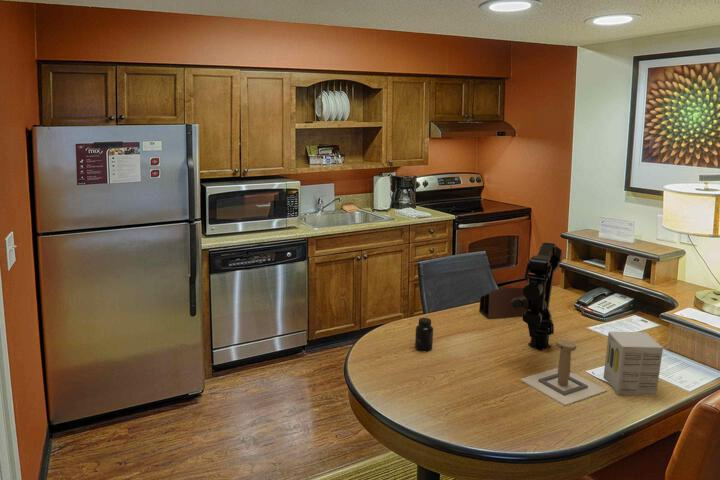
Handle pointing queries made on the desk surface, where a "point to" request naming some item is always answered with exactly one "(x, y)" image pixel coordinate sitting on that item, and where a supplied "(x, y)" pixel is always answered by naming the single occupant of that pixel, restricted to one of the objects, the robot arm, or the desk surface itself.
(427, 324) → the supplement bottle
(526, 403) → the desk surface
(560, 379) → the handle
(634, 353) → the supplement box
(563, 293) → the desk surface
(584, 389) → the socket plate
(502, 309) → the letter holder
